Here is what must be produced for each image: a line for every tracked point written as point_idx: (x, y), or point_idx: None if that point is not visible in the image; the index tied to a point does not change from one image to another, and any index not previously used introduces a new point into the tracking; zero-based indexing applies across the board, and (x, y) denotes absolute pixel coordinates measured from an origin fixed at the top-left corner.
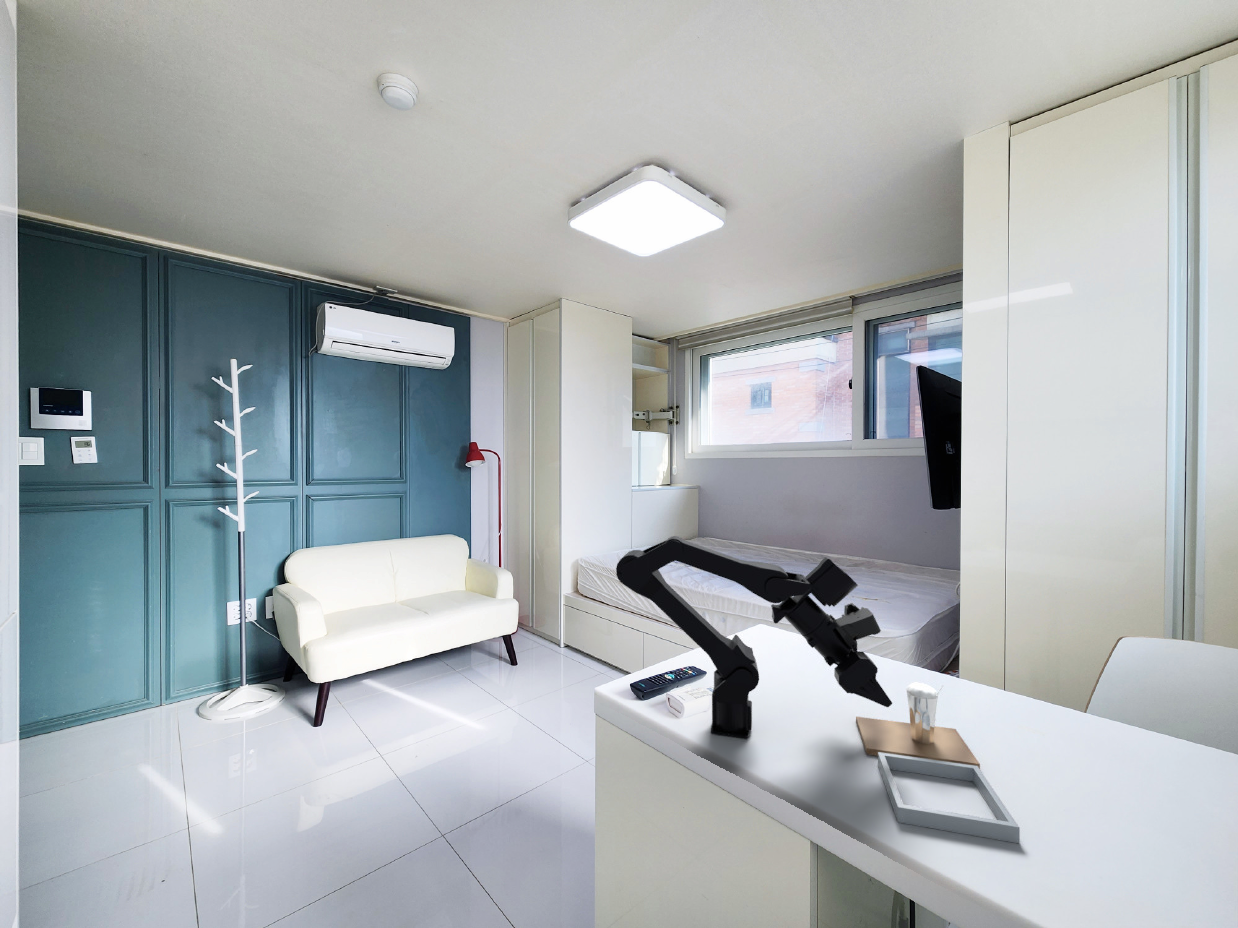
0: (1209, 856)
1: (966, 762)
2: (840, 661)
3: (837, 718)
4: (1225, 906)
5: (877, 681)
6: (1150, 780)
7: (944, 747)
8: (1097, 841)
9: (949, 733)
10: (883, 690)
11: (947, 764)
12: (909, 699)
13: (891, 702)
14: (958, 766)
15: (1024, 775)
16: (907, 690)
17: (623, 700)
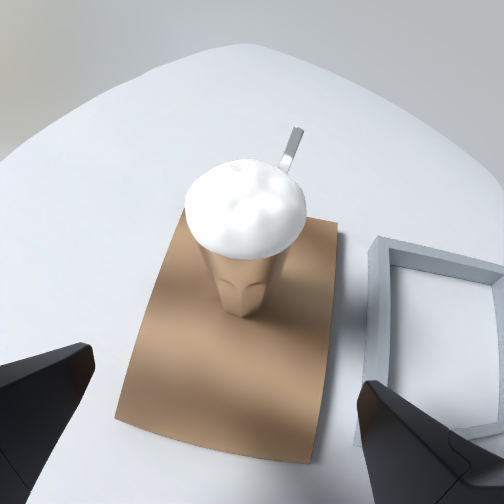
0: (424, 128)
1: (336, 244)
2: (5, 501)
3: (104, 459)
4: (483, 167)
5: (493, 454)
6: (301, 83)
7: None
8: (452, 192)
9: None
10: (436, 421)
11: (389, 293)
12: (253, 272)
13: (380, 383)
14: (388, 273)
15: (330, 175)
16: (240, 256)
17: None
